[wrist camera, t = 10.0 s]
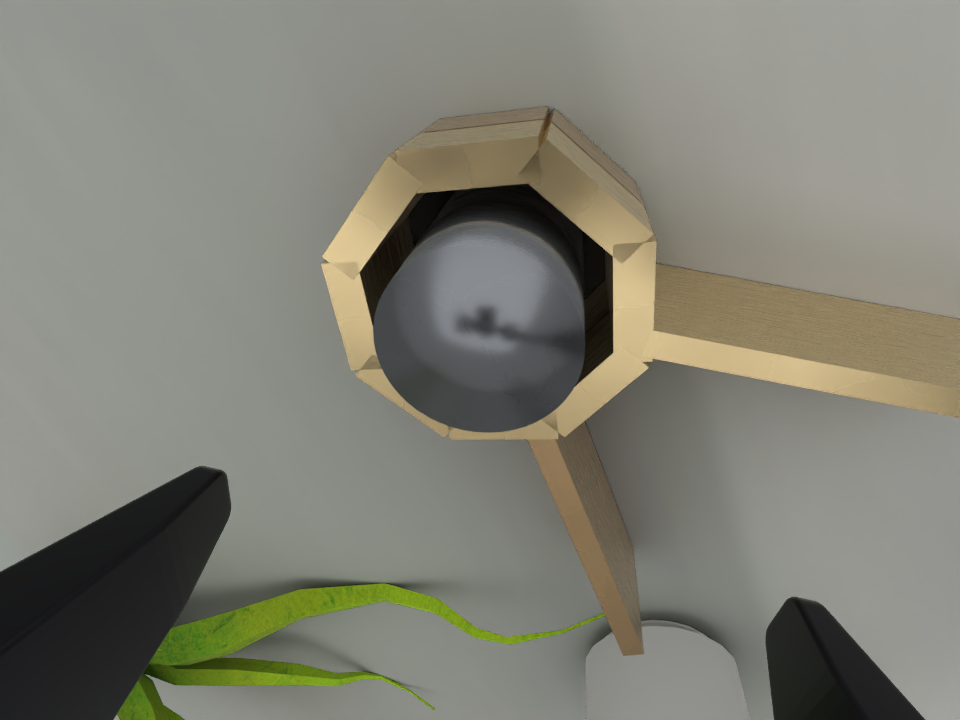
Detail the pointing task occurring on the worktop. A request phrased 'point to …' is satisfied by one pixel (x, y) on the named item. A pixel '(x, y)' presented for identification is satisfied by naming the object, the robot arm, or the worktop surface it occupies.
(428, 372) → the hinge pin
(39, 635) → the robot arm
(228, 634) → the decorative plant
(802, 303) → the hinge
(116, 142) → the worktop surface
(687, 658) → the can
